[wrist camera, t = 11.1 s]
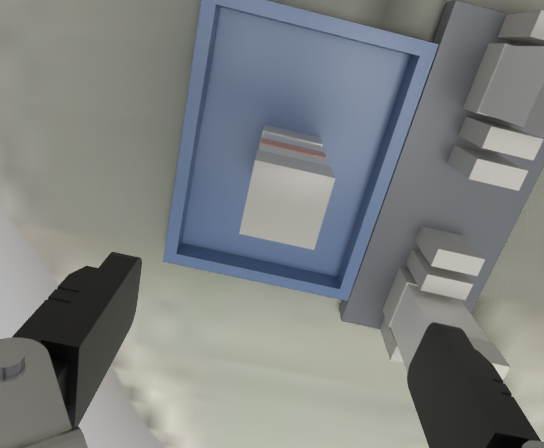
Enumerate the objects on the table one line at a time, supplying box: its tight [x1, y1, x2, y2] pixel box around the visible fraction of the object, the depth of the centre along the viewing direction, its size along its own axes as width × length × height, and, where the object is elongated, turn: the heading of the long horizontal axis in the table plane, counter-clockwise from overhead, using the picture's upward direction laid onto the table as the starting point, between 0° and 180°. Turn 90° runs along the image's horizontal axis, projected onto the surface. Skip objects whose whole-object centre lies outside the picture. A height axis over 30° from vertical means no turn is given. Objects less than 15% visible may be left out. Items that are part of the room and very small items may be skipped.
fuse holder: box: [339, 0, 544, 363], centre depth 27 cm, size 22×9×5 cm, turn 167°
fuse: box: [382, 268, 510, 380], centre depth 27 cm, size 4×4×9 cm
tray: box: [163, 0, 439, 301], centre depth 28 cm, size 17×13×2 cm
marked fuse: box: [239, 124, 335, 250], centre depth 24 cm, size 4×4×9 cm
